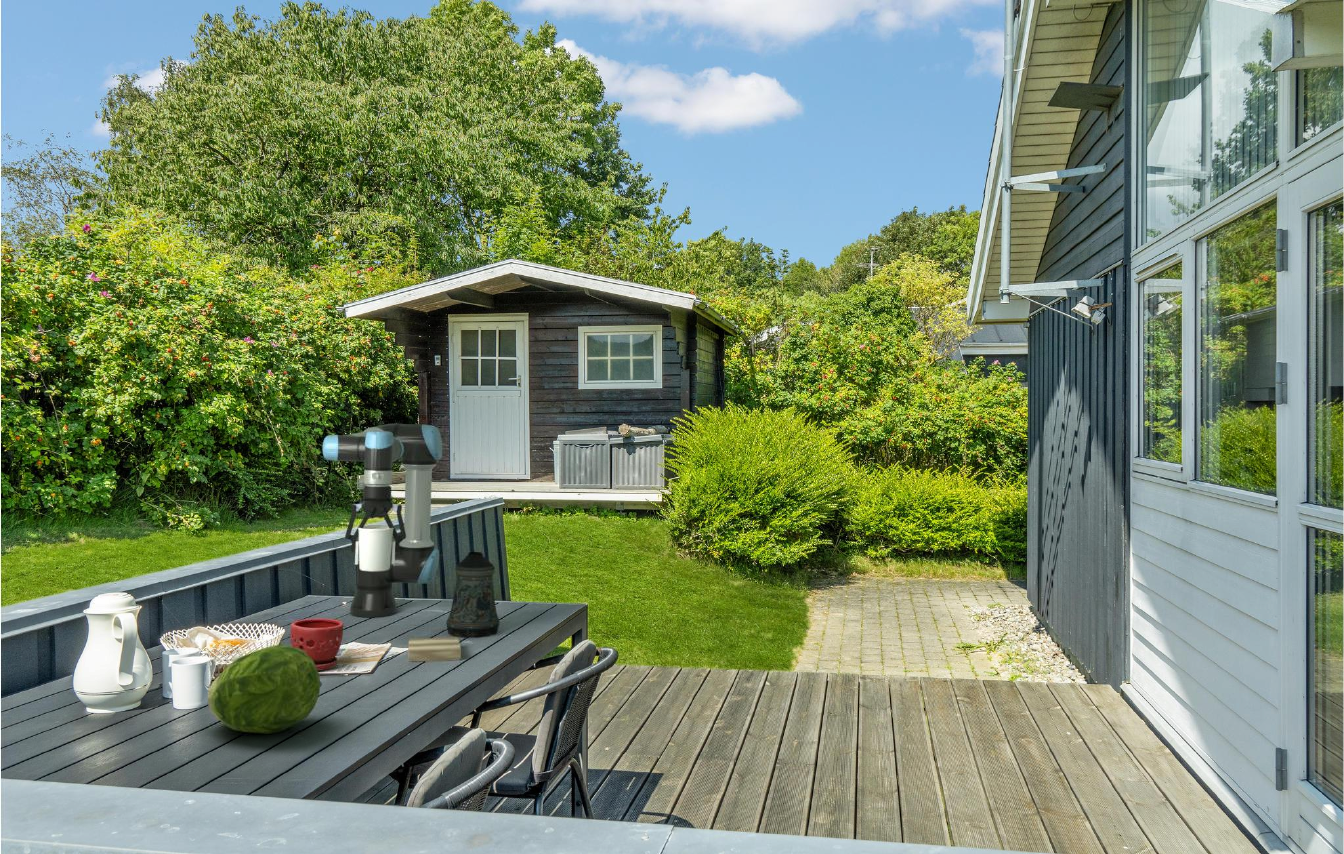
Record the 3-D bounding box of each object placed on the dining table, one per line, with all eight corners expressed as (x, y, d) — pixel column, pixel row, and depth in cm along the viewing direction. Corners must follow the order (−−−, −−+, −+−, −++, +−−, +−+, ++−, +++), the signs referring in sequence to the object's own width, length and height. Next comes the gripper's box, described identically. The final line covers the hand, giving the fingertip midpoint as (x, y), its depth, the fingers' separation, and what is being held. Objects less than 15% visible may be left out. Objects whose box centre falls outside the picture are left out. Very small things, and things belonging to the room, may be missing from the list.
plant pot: (324, 675, 237) (325, 629, 236) (278, 670, 239) (280, 625, 239) (351, 662, 249) (352, 619, 249) (308, 658, 252) (309, 615, 252)
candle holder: (398, 567, 265) (399, 526, 264) (383, 572, 255) (385, 530, 255) (365, 565, 266) (367, 524, 265) (350, 570, 256) (351, 528, 256)
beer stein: (469, 640, 278) (472, 559, 277) (429, 629, 289) (432, 551, 289) (510, 631, 291) (513, 554, 291) (469, 621, 303) (472, 546, 302)
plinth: (408, 649, 266) (408, 638, 266) (457, 647, 270) (457, 637, 270) (408, 661, 252) (409, 651, 252) (460, 659, 256) (460, 649, 256)
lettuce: (250, 710, 209) (231, 636, 206) (343, 702, 205) (324, 627, 202) (196, 755, 191) (174, 675, 188) (296, 747, 187) (275, 666, 183)
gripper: (335, 485, 253) (333, 566, 254) (417, 486, 259) (414, 565, 260) (338, 483, 261) (335, 561, 261) (417, 484, 267) (414, 561, 267)
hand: (375, 563), depth 260 cm, fingers closed on candle holder, 9 cm apart
